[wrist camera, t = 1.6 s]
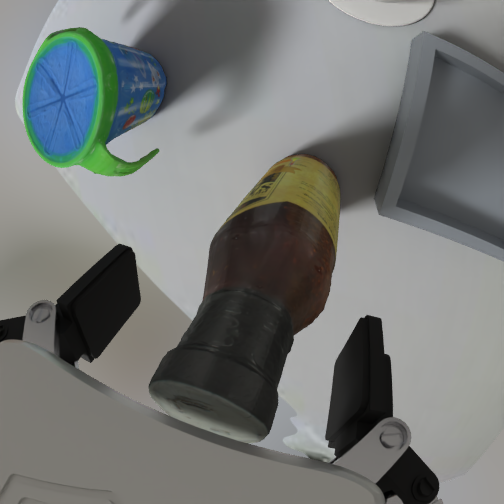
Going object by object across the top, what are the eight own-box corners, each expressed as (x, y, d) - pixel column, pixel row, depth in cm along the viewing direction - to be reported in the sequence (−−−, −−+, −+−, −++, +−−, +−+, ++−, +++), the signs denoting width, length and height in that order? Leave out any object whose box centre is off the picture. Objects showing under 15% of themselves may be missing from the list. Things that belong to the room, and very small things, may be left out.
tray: (552, 123, 12) (573, 130, 9) (509, 250, 19) (523, 270, 17) (411, 39, 14) (423, 31, 12) (374, 198, 22) (378, 214, 19)
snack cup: (214, 132, 23) (143, 159, 15) (133, 176, 28) (62, 217, 19) (150, 0, 17) (70, -18, 9) (82, 61, 22) (6, 71, 14)
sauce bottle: (282, 139, 22) (105, 293, 6) (353, 172, 22) (366, 413, 5) (255, 206, 26) (118, 400, 9) (319, 236, 25) (261, 466, 9)
